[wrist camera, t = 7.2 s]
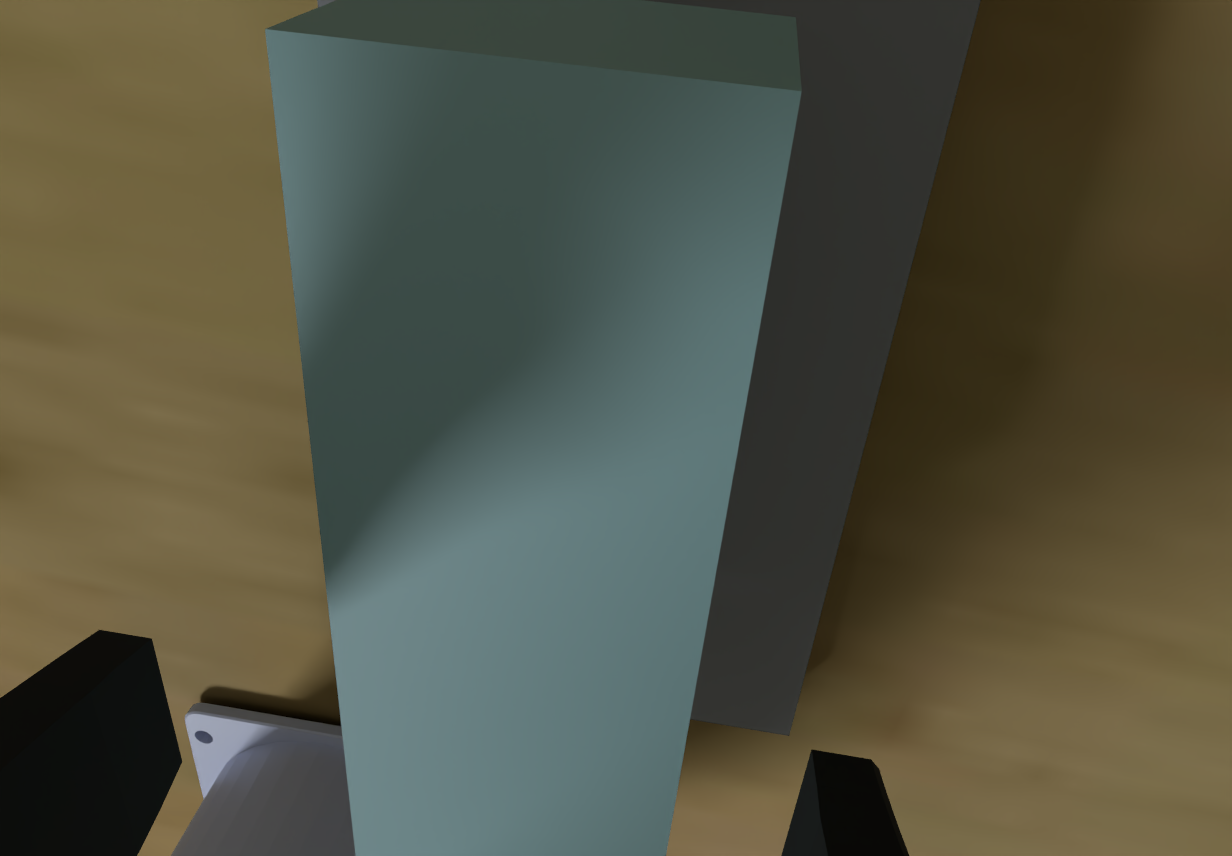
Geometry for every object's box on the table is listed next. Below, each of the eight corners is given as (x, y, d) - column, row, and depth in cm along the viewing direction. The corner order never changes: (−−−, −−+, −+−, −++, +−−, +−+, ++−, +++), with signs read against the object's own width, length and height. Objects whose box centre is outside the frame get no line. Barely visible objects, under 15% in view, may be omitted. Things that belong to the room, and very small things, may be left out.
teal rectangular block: (662, 809, 18) (640, 999, 15) (430, 768, 19) (365, 946, 16) (795, 16, 11) (801, 92, 8) (401, -27, 11) (265, 29, 8)
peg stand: (788, 687, 24) (790, 896, 19) (393, 622, 25) (302, 808, 20) (1004, -177, 14) (1114, -174, 9) (338, -237, 15) (138, -264, 10)
